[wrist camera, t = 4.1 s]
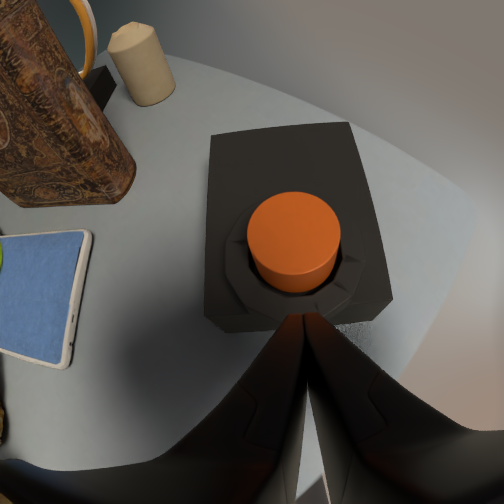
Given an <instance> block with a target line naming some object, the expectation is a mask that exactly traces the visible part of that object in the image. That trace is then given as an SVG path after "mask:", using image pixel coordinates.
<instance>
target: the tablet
mask: <svg viewBox="0 0 504 504" xmlns="http://www.w3.org/2000/svg"><path fill="white" fill-rule="evenodd" d="M0 242H1V247H2V263H1V268H0V352H2V353H5V354H8V355H11V356H14V357H17V358H19V359H22V360H25V361H28V362H31V363H36V364H39V365H42V366H47V367H50V368H54V369H58V370H64V369H66V368H67V367H68V365H69V363H70V360H71V354H72V348H73V347H72V343H73V342H74V335H75V329H76V323H77V318H78V312H79V306H80V301H81V295H82V290H83V284H84V279H85V274H86V269H87V264H88V259H89V254H90V249H91V244H92V234H91V232H90V231H88V230H86V229H74V230H62V231H50V232H40V233H28V234H17V235H5V236H0Z"/></svg>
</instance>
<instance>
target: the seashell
mask: <svg viewBox="0 0 504 504" xmlns="http://www.w3.org/2000/svg"><path fill="white" fill-rule="evenodd" d="M3 417H4V411H3V410H2V409H1V401H0V437H1V433H2V429H3ZM0 446H1V439H0Z"/></svg>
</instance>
